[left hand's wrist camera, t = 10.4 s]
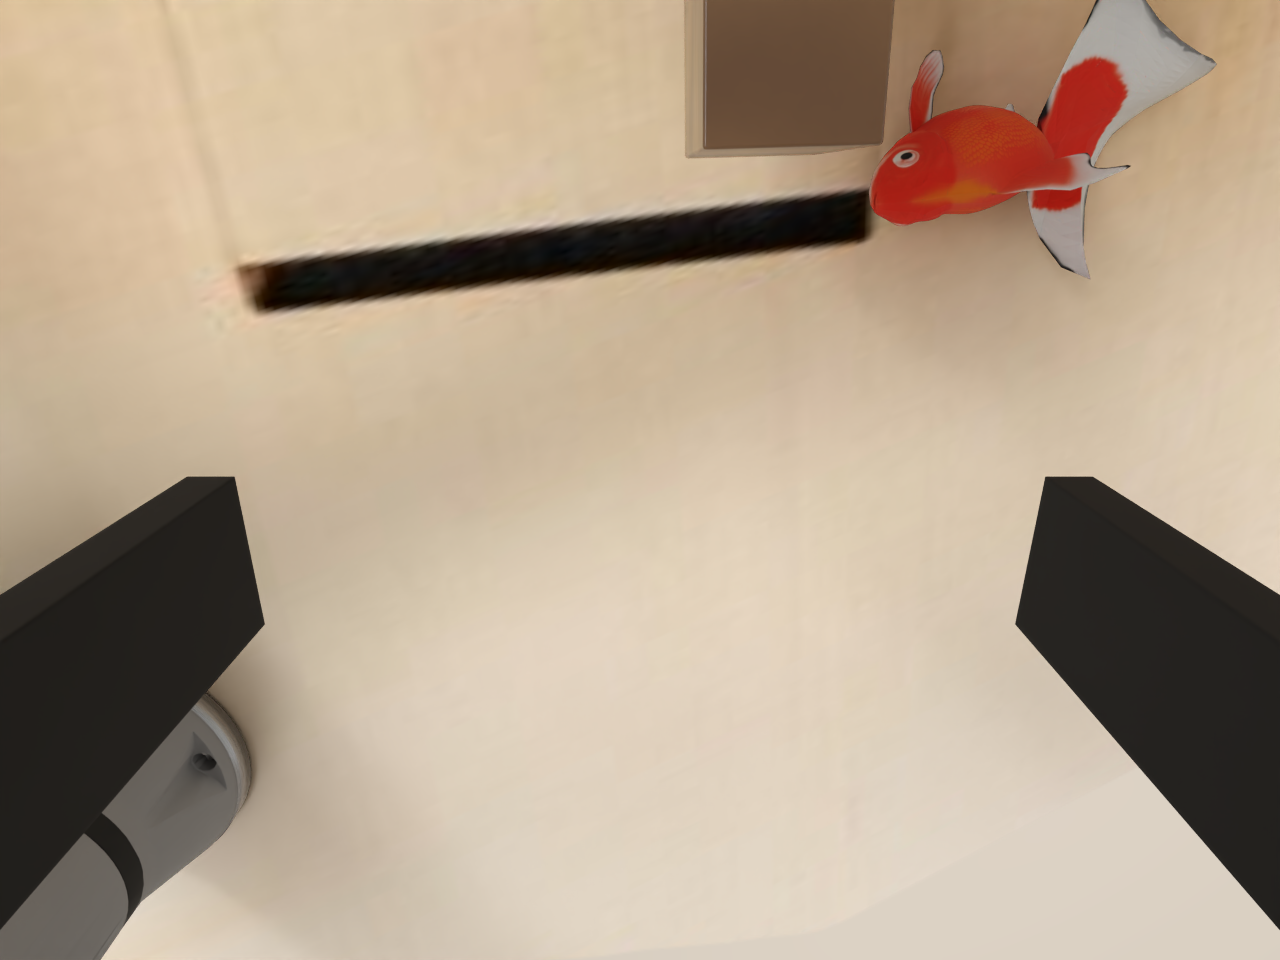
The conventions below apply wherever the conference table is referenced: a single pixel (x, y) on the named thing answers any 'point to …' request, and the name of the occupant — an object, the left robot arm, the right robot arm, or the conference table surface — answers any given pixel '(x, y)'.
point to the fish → (1036, 132)
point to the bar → (785, 76)
